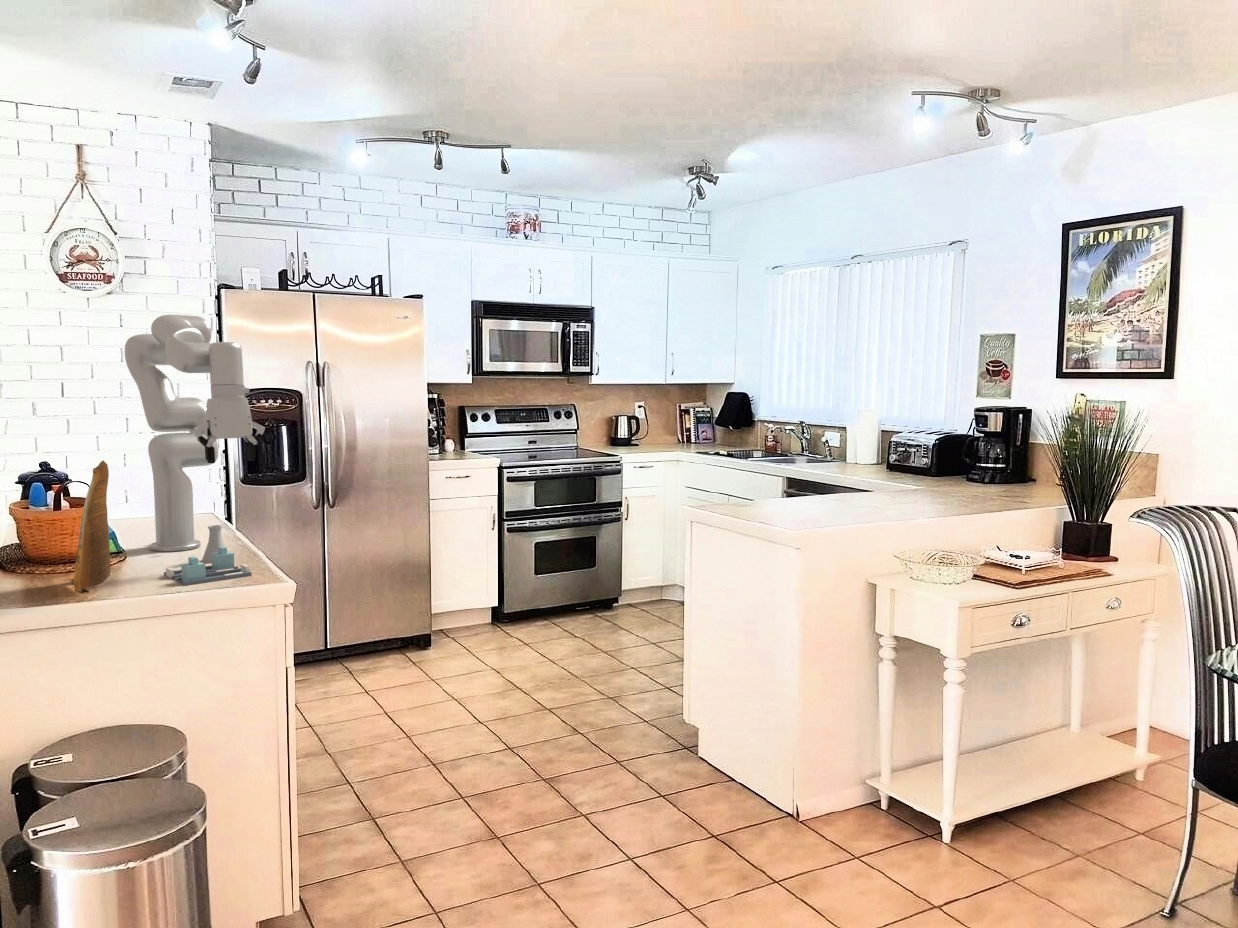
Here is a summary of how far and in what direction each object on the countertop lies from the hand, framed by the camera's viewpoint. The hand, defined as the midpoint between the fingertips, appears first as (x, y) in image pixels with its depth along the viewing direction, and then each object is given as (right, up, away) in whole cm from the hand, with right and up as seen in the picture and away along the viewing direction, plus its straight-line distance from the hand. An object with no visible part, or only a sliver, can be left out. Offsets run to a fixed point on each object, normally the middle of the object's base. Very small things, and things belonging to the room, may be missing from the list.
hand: (231, 461), depth 221 cm
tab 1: (-1, -27, -17) cm, 32 cm away
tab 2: (0, -26, -5) cm, 27 cm away
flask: (-6, -26, +6) cm, 28 cm away
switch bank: (-1, -28, -11) cm, 30 cm away
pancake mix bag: (-24, -29, -17) cm, 41 cm away
